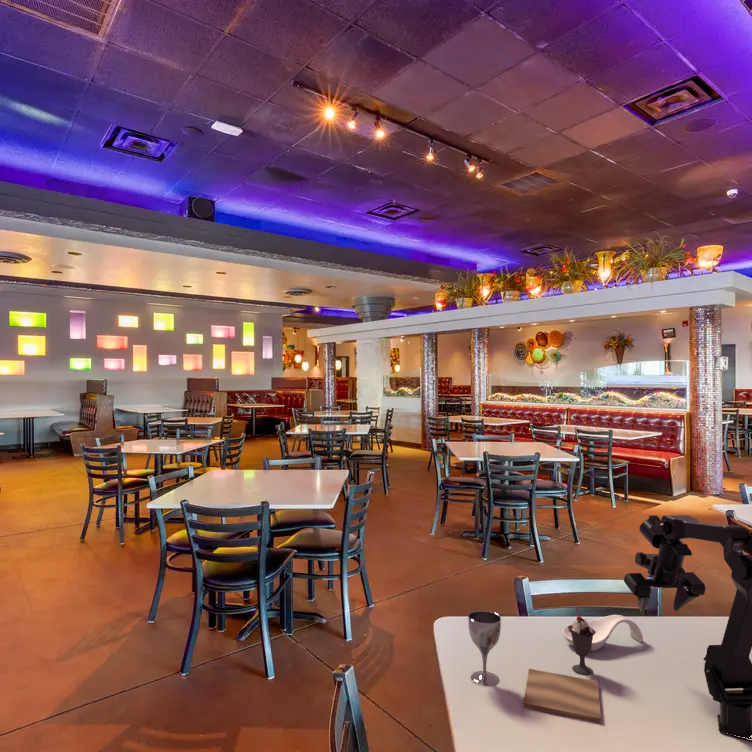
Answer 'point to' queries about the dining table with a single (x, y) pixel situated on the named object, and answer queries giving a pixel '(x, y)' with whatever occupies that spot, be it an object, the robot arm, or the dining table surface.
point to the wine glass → (484, 641)
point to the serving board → (562, 695)
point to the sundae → (581, 643)
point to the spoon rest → (606, 630)
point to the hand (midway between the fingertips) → (658, 610)
